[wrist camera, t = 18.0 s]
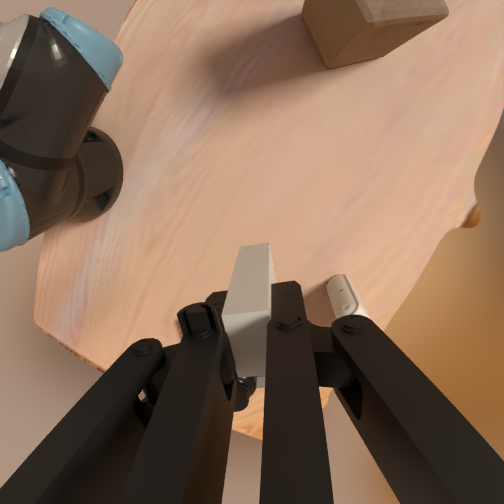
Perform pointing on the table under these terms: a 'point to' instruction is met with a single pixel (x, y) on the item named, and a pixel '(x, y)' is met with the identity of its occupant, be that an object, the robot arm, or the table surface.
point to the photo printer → (344, 297)
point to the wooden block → (367, 26)
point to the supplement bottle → (244, 391)
